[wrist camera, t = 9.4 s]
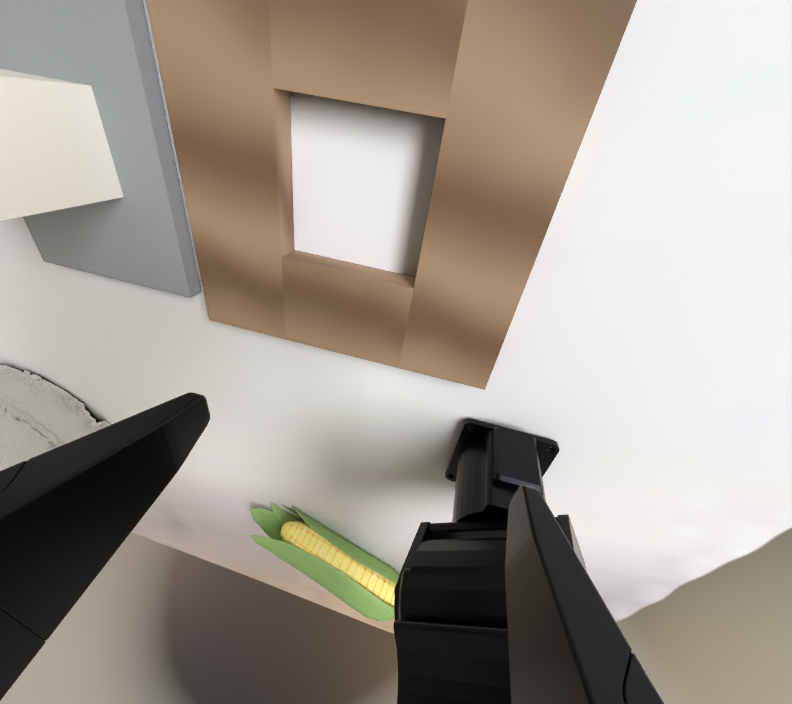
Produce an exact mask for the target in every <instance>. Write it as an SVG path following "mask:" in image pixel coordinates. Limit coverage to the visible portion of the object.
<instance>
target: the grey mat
mask: <svg viewBox="0 0 792 704" xmlns="http://www.w3.org/2000/svg"><path fill="white" fill-rule="evenodd" d="M0 69H5V70H10V71H16V72H21V73H26V74H32V75H37V76H42V77H47V78H53V79H58V80H63V81H69V82H74V83H79V84H85V85H90V86H91V87H92V91H93V94H94V97H95V101H96V104H97V108H98V111H99V115H100V118H101V121H102V125H103V128H104V132H105V135H106V139H107V142H108V145H109V149H110V152H111V156H112V159H113V162H114V166H115V169H116V173H117V176H118V180H119V183H120V186H121V190H122V193H123V197H122V198H117V199H111V200H106V201H101V202H96V203H91V204H86V205H81V206H75V207H70V208H65V209H60V210H55V211H50V212H44V213H39V214H34V215H29V216H24V217H23V218H24V220H25V222H26V224H27V226H28V228H29V230H30V233H31V235H32V237H33V239H34V241H35V243H36V245H37V248H38V250H39V252H40V254H41V256H42V258H43V260H44V261H45V262H49V263H53V264H57V265H61V266H65V267H69V268H73V269H77V270H82V271H86V272H90V273H94V274H98V275H102V276H106V277H110V278H114V279H118V280H122V281H126V282H130V283H134V284H138V285H142V286H146V287H150V288H154V289H158V290H162V291H166V292H170V293H174V294H178V295H182V296H186V297H190V298H191V297H192V296H194V295H196V294H198V293H199V292H201V288H200V283H199V278H198V273H197V268H196V263H195V259H194V254H193V249H192V244H191V239H190V234H189V229H188V224H187V219H186V214H185V209H184V204H183V199H182V194H181V189H180V184H179V179H178V174H177V169H176V164H175V160H174V155H173V150H172V145H171V140H170V135H169V130H168V125H167V120H166V115H165V110H164V105H163V100H162V95H161V90H160V85H159V80H158V75H157V70H156V66H155V61H154V56H153V51H152V46H151V41H150V36H149V31H148V26H147V21H146V16H145V11H144V6H143V1H142V0H0Z"/></svg>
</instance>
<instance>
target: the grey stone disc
mask: <svg viewBox="0 0 792 704" xmlns="http://www.w3.org/2000/svg"><path fill="white" fill-rule="evenodd" d="M30 374H31V373H30V372H29V371H27V370H24V372H21V371H20V370H17V369H14V368H12V367H9V366H6V365H1V364H0V471H1V470H4V469H6V468H9V467H11V466H13V465H16V464H18V463H21V462H23V461H28V460H29V459H30V458H33V457H35V456H38V455H40V454H42V453H45V452H47V451H50V450H52V449H54V448H57V447H59V446H62V445H64V444H66V443H69V442H71V441H74V440H76V439H78V438H81V437H83V436H86V435H88V434H90V433H93V432H95V431H98V430H100V429H102V428H105V427H107V426H110V425H111V424H110V423H108V422H107V421H101V422H99V423H96V419H94V418H93V417H91V416H90V413H89V412H88V411H86V410H85V406H84V404H83V403H81V402H80V401H78V399H76V398H74V397H72V396H71V395H70V394H69V393H68V392H66V391H64V390H63V389H61V388H59V387H57V386H56V385H54V384H52V383H50V382H47V381H46V380H42V378H41V377H40V376H38V375H36V374H32V375H30Z"/></svg>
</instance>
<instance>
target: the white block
mask: <svg viewBox="0 0 792 704" xmlns="http://www.w3.org/2000/svg"><path fill="white" fill-rule="evenodd" d="M122 197H123V193H122V190H121V186H120V183H119V180H118V176H117V173H116V169H115V166H114V162H113V159H112V156H111V152H110V149H109V145H108V142H107V139H106V135H105V132H104V128H103V125H102V121H101V118H100V115H99V111H98V108H97V104H96V101H95V97H94V94H93V91H92V87H91V86H90V85H85V84H79V83H74V82H69V81H63V80H58V79H53V78H47V77H42V76H37V75H32V74H26V73H21V72H16V71H10V70H5V69H0V221H3V220H8V219H14V218H19V217H24V216H29V215H34V214H39V213H44V212H50V211H55V210H60V209H65V208H70V207H75V206H81V205H86V204H91V203H96V202H101V201H106V200H111V199H117V198H122Z"/></svg>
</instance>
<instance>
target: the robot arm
mask: <svg viewBox="0 0 792 704" xmlns="http://www.w3.org/2000/svg"><path fill="white" fill-rule="evenodd" d="M209 420H210V413H209V408H208V404H207V400H206V398H205V397H204V396H203V395H200V394H196V393H187V394H184V395H182V396H179V397H177V398H175V399H172V400H170V401H167V402H165V403H163V404H160V405H158V406H155V407H153V408H151V409H148V410H146V411H143V412H141V413H138V414H136V415H134V416H131V417H129V418H126V419H124V420H122V421H119V422H117V423H114V424H112V425H110V426H107V427H105V428H102V429H100V430H98V431H95V432H93V433H90V434H88V435H86V436H83V437H81V438H78V439H76V440H74V441H71V442H69V443H66V444H64V445H62V446H59V447H57V448H54V449H52V450H50V451H47V452H45V453H42V454H40V455H38V456H35V457H33V458H30V459H29V460H28V461H23V462H21V463H18V464H16V465H13V466H11V467H9V468H6V469H4V470H1V471H0V700H1V699H2V698H3V696H4V695H5V694H6V693H7V691H8V690H9V689H10V687H11V686H12V685H13V683H14V682H15V681H16V680H17V678H18V677H19V676H20V675H21V673H22V672H23V671H24V669H25V668H26V667H27V666H28V664H29V663H30V662H31V660H32V659H33V658H34V657H35V655H36V654H37V653H38V651H39V650H40V649H41V648H42V646H43V645H44V643H45V640H47V639H48V638H49V637H50V636H51V634H52V633H53V632H54V630H55V629H56V628H57V627H58V625H59V624H60V623H61V621H62V620H63V619H64V617H65V616H66V615H67V614H68V612H69V611H70V610H71V608H72V607H73V606H74V605H75V603H76V602H77V601H78V599H79V598H80V597H81V596H82V594H83V593H84V592H85V590H86V589H87V588H88V586H89V585H90V584H91V582H92V581H93V580H94V579H95V577H96V576H97V574H99V572H100V571H101V570H102V568H103V567H104V566H105V565H106V563H107V562H108V561H109V559H110V558H111V557H112V556H113V554H114V553H115V552H116V550H117V549H118V548H119V547H120V545H121V544H122V543H123V541H124V540H125V539H126V538H127V536H128V535H129V534H130V532H131V531H132V530H133V528H134V527H135V526H136V525H137V523H138V522H139V521H140V519H141V518H142V517H143V516H144V514H145V513H146V512H147V510H148V509H149V508H150V507H151V505H152V504H153V503H154V501H155V500H156V499H157V498H158V496H159V495H160V494H161V492H162V491H163V490H164V488H165V487H166V486H167V485H168V483H169V482H170V481H171V479H172V478H173V477H174V475H175V474H176V473H177V471H178V470H179V469H180V467H181V466H182V464H183V463H184V461H185V460H186V458H187V456H188V455H189V453H190V452H191V450H192V448H193V447H194V445H195V444H196V442H197V440H198V439H199V437H200V436H201V434H202V432H203V431H204V429H205V428H206V426H207V425H208V423H209ZM469 426H473V427H469ZM549 447H553V448H549ZM558 452H559V446H558V443H557V442H556V441H553V440H550V439H546V438H542V437H538V436H534V435H531V434H527V433H523V432H519V431H515V430H512V429H508V428H504V427H500V426H496V425H493V424H489V423H485V422H481V421H477V420H474V419H467V420H465V421H464V422H463V425H462V428H461V431H460V433H459V436H458V439H457V441H456V444H455V447H454V449H453V452H452V455H451V457H450V460H449V463H448V466H447V468H446V472H445V477H446V478H447V479H449V480H451V481H455V482H456V486H455V497H454V508H453V520H452V522H450V523H430V522H422V523H421V524H420V526H419V529H418V531H417V533H416V536H415V538H414V541H413V543H412V546H411V548H410V550H409V553H408V555H407V558H406V560H405V562H404V565H403V567H402V570H401V572H400V575H399V578H398V581H397V584H396V586H395V590H394V595H395V600H394V615H395V622H394V634H395V640H396V646H397V657H398V699H397V704H664V703H663V701H662V699H661V698H660V696H659V695H658V693H657V691H656V689H655V688H654V686H653V684H652V683H651V681H650V679H649V678H648V676H647V674H646V673H645V671H644V669H643V668H642V666H641V664H640V663H639V661H638V659H637V658H636V656H635V654H634V653H631V647H630V646H629V644H628V642H627V641H626V639H625V637H624V635H623V634H622V632H621V630H620V628H619V627H618V625H617V623H616V622H615V620H614V618H613V616H612V615H611V613H610V611H609V610H608V608H607V606H606V604H605V603H604V601H603V599H602V598H601V596H600V594H599V592H598V591H597V589H596V587H595V586H594V584H593V582H592V580H591V579H590V577H589V575H588V574H587V571H586V567H585V563H584V559H583V556H582V553H581V550H580V547H579V544H578V542H577V539H576V536H575V533H574V530H573V527H572V524H571V521H570V518H569V515H558V517H554V515H553V514H552V512H551V510H550V509H549V507H548V505H547V503H546V500H545V494H544V487H543V481H542V477H543V475H544V474H545V472H546V471H547V469H548V468H549V466H550V465H551V463H552V461H553V460H554V458H555V457H556V455H557V454H558Z"/></svg>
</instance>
